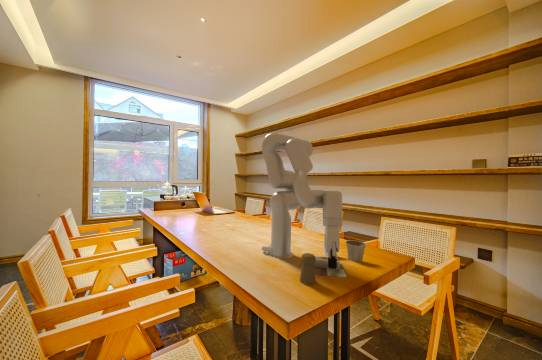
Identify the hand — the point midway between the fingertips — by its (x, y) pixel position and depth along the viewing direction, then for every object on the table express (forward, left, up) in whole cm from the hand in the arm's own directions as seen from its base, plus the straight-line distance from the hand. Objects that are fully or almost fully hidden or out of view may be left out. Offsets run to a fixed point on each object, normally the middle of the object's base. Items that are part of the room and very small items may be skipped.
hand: (332, 267), depth 94 cm
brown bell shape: (-10, -10, -3) cm, 15 cm away
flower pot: (+13, +18, -3) cm, 22 cm away
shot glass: (+2, +22, -3) cm, 22 cm away
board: (-3, +3, -3) cm, 5 cm away
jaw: (-4, +4, -1) cm, 6 cm away
